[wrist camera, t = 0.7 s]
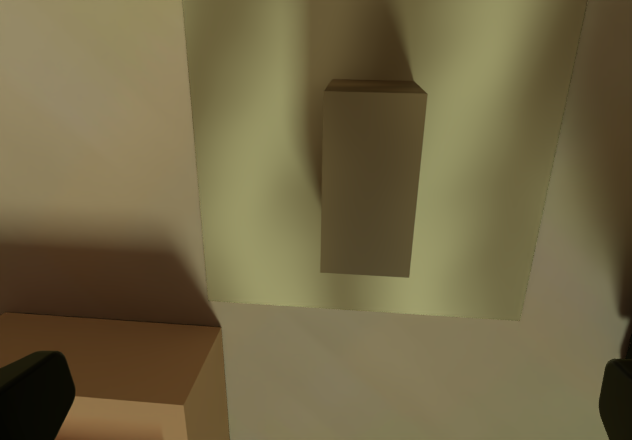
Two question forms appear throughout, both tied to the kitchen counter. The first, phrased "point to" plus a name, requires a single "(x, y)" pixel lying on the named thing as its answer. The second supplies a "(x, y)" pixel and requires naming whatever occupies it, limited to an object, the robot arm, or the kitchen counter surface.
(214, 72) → the lid
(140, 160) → the kitchen counter surface
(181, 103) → the kitchen counter surface
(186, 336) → the open wooden box
